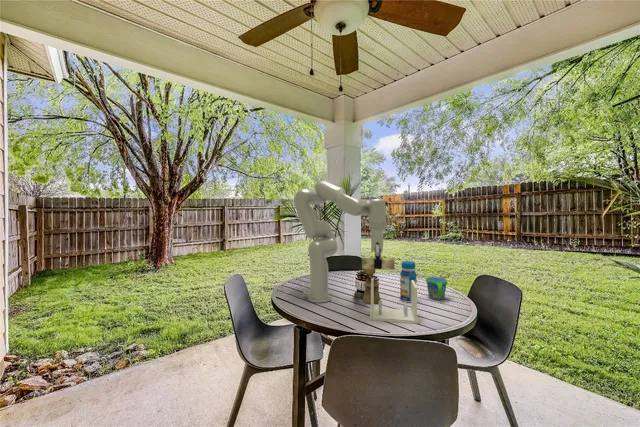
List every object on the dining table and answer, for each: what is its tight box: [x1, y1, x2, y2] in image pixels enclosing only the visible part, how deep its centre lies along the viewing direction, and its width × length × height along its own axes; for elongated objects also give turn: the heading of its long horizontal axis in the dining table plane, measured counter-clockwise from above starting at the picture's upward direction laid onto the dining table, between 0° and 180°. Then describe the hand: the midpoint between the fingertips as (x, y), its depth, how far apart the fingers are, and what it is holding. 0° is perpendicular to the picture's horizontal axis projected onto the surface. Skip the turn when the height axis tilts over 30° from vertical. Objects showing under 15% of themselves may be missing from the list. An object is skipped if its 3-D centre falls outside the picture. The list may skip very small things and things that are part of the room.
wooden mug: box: [362, 269, 382, 305], centre depth 148 cm, size 9×14×18 cm, turn 179°
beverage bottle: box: [399, 260, 418, 303], centre depth 147 cm, size 8×8×20 cm
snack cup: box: [425, 276, 449, 301], centre depth 150 cm, size 16×10×10 cm
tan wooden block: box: [361, 257, 396, 270], centre depth 126 cm, size 14×5×4 cm, turn 77°
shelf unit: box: [369, 278, 419, 325], centre depth 125 cm, size 20×12×15 cm, turn 78°
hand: (378, 266), depth 126 cm, fingers closed on tan wooden block, 5 cm apart
